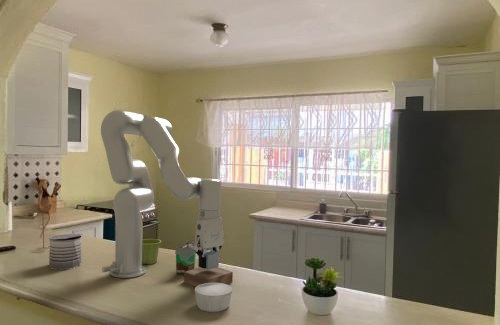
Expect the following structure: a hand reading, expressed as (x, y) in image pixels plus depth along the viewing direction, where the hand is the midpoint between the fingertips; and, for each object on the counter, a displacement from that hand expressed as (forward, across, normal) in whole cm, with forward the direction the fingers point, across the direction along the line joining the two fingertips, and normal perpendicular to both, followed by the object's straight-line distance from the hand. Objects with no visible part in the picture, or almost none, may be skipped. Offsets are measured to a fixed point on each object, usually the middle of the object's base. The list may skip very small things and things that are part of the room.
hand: (208, 265), depth 131 cm
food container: (+6, +3, +14) cm, 15 cm away
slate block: (+1, 0, 0) cm, 1 cm away
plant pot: (+6, -1, +34) cm, 34 cm away
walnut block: (+6, 0, 0) cm, 6 cm away
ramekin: (+6, -13, -16) cm, 22 cm away
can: (+6, -26, +53) cm, 59 cm away
